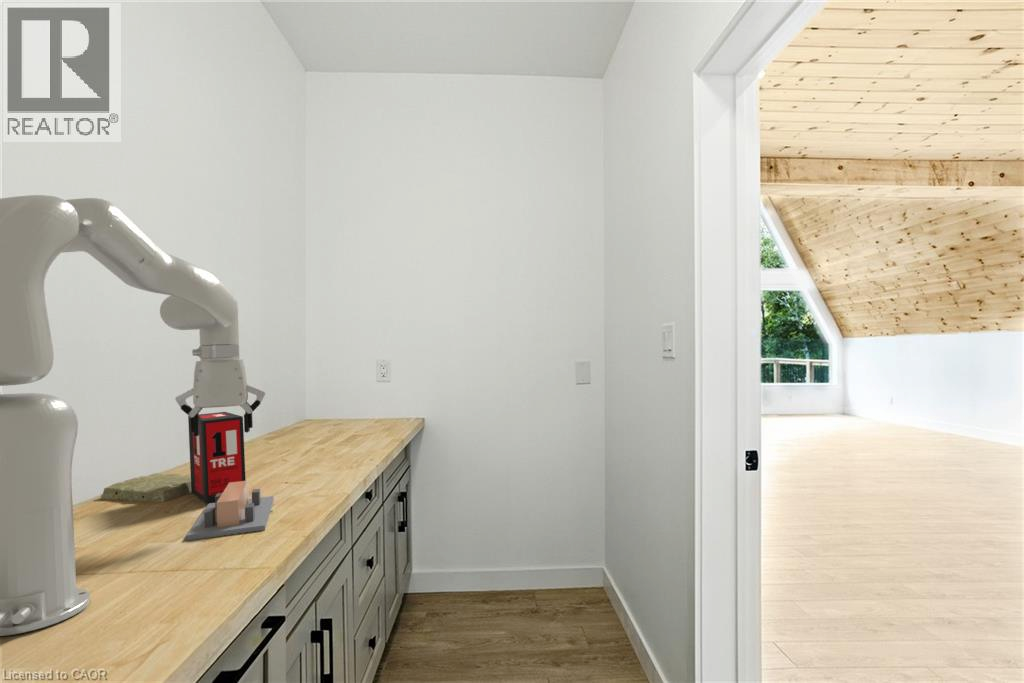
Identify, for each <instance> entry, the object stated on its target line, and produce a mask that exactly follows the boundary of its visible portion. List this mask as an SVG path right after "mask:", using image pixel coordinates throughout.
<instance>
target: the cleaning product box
mask: <svg viewBox="0 0 1024 683" xmlns="http://www.w3.org/2000/svg"><path fill="white" fill-rule="evenodd" d="M199 416H200V419H201V434H200V435H198V436H194V432H191V417H189V415H187V417H188V418H187V421H188V422H187V423H188V441H189V443H188V445H189V463H190V464H189V466H190V467H189V468H190V469H189V470H190V474H191V492H190V493H192V494H193V495H195V496H196V497H197V498H198V499H200V501H202V502H203V503H204V504H206V505H208V504H209V503H215V496H216V495H217V493H223V492H224V490H225V489H226V487H227V485H228V484H229V483H230V482H240V481H247V480H246V459H245V439H244V438H245V437H244V436H245V435H244V433H245V432H244V415H243V416H242V415H239V414H235V413H231V412H227V411H221V412H220V411H219V412H210V413H209V412H207V413H200V414H199Z"/></svg>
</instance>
